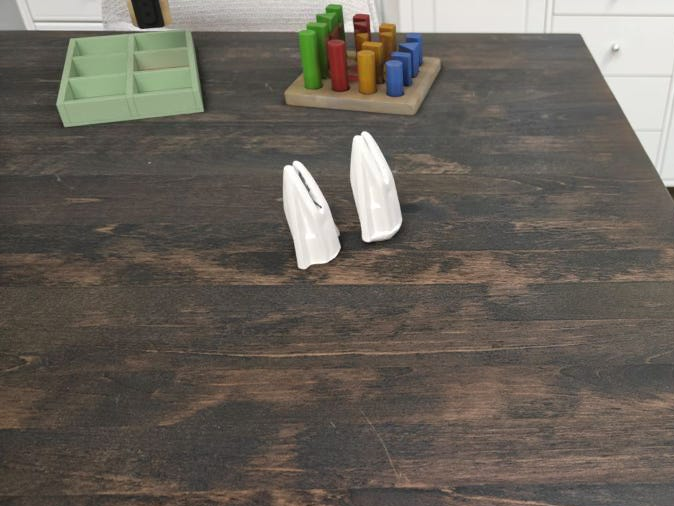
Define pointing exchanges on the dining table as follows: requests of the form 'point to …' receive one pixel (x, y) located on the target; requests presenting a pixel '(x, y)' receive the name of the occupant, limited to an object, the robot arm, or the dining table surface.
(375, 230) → the shaker set
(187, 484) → the dining table surface
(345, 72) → the peg board
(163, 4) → the token
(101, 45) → the grid
